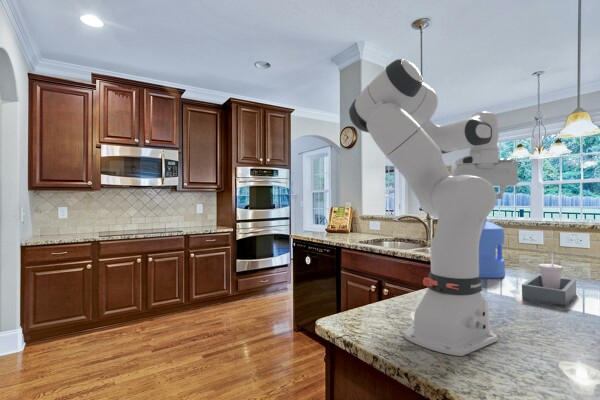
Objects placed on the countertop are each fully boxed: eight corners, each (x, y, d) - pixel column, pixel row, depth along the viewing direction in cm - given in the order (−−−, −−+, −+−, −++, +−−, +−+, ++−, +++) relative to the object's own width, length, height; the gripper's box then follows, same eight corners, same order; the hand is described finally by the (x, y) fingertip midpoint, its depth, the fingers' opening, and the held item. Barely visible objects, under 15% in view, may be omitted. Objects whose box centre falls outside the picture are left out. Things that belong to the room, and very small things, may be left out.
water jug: (469, 278, 132) (468, 212, 133) (460, 270, 148) (458, 211, 148) (511, 279, 129) (509, 211, 129) (497, 271, 144) (495, 210, 144)
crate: (565, 307, 94) (565, 291, 94) (522, 299, 102) (521, 284, 103) (576, 294, 107) (576, 279, 108) (537, 288, 116) (536, 274, 116)
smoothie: (568, 297, 101) (567, 254, 101) (545, 296, 102) (544, 254, 102) (556, 292, 107) (555, 251, 107) (535, 291, 108) (534, 251, 108)
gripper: (514, 159, 110) (514, 199, 110) (450, 161, 115) (450, 199, 115) (521, 157, 104) (522, 198, 104) (454, 159, 109) (454, 198, 109)
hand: (484, 199), depth 109 cm, fingers open, 8 cm apart
